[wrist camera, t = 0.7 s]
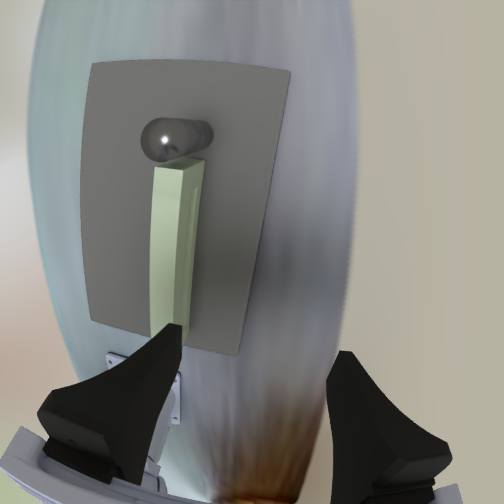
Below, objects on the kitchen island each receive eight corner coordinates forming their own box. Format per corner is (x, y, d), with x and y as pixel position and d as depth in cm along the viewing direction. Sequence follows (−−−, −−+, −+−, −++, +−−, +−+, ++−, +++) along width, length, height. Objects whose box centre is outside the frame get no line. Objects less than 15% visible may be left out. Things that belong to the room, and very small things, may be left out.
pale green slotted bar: (188, 331, 24) (172, 371, 19) (171, 327, 24) (152, 366, 19) (205, 160, 18) (183, 170, 14) (182, 157, 18) (154, 167, 14)
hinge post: (212, 151, 19) (180, 164, 12) (183, 148, 19) (138, 160, 12) (217, 122, 18) (185, 119, 11) (187, 118, 18) (143, 116, 11)
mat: (237, 352, 25) (237, 356, 25) (93, 317, 25) (90, 320, 25) (290, 73, 16) (290, 71, 16) (95, 64, 16) (92, 63, 16)
